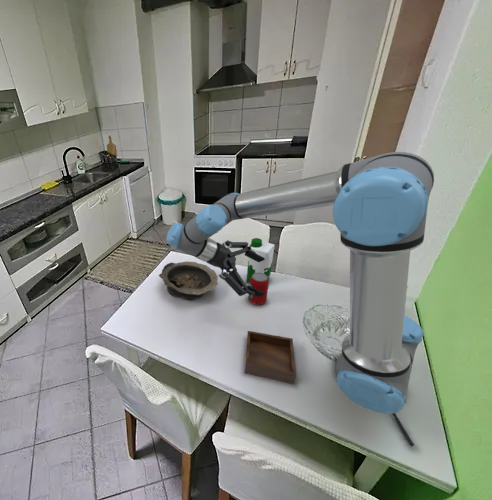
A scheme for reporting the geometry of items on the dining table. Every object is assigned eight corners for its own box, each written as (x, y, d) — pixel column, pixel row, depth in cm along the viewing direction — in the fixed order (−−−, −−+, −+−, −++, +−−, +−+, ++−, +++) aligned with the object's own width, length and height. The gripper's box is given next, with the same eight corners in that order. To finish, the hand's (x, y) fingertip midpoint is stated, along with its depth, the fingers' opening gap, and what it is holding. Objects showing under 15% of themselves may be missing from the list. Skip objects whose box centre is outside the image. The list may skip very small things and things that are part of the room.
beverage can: (250, 293, 116) (252, 270, 110) (267, 297, 113) (270, 273, 106) (246, 303, 111) (248, 279, 105) (264, 307, 108) (267, 283, 102)
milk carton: (252, 272, 127) (255, 234, 117) (272, 279, 122) (277, 239, 111) (243, 282, 122) (246, 243, 112) (264, 289, 116) (269, 249, 106)
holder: (293, 384, 81) (296, 375, 79) (244, 373, 86) (245, 364, 84) (290, 347, 91) (292, 338, 89) (246, 339, 96) (247, 330, 94)
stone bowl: (150, 294, 123) (148, 277, 119) (181, 269, 139) (181, 253, 135) (199, 315, 108) (199, 296, 104) (227, 285, 124) (229, 267, 120)
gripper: (208, 227, 99) (254, 251, 105) (199, 289, 87) (252, 313, 92) (221, 217, 93) (269, 243, 98) (214, 282, 80) (270, 308, 86)
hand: (261, 276), depth 95 cm, fingers open, 13 cm apart
